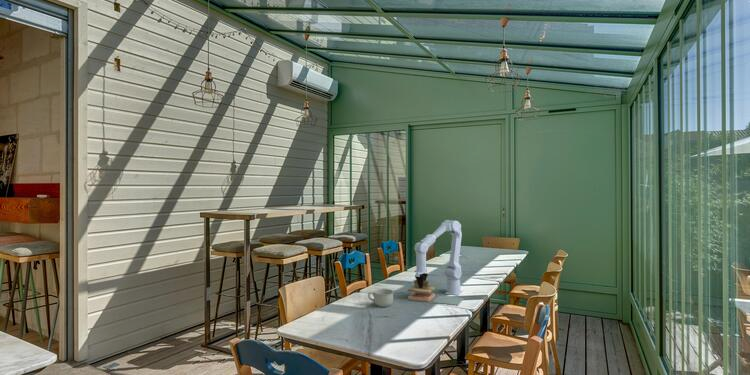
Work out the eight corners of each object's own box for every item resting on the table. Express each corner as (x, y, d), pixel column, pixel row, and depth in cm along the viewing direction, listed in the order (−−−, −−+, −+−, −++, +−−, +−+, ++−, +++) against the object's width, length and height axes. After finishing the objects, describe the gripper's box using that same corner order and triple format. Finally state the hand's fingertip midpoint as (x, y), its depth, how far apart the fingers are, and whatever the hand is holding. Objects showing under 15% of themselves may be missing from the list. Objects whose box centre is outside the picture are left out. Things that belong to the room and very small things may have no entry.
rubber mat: (439, 296, 230) (439, 295, 230) (463, 299, 224) (463, 298, 224) (432, 303, 217) (432, 302, 217) (457, 305, 211) (457, 304, 211)
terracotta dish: (415, 294, 235) (415, 291, 235) (434, 296, 230) (434, 293, 230) (408, 299, 224) (408, 296, 224) (428, 302, 219) (428, 298, 219)
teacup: (394, 303, 219) (394, 288, 219) (393, 308, 208) (392, 293, 208) (369, 302, 220) (369, 288, 220) (367, 308, 209) (366, 293, 209)
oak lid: (414, 285, 236) (414, 277, 236) (435, 287, 230) (435, 279, 230) (407, 291, 224) (407, 282, 224) (429, 293, 218) (429, 284, 219)
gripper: (418, 260, 236) (419, 283, 235) (410, 265, 222) (410, 289, 222) (430, 261, 233) (430, 284, 232) (422, 265, 219) (422, 290, 219)
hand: (421, 286), depth 227 cm, fingers closed on oak lid, 3 cm apart
